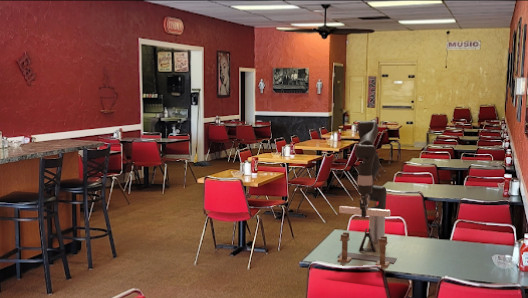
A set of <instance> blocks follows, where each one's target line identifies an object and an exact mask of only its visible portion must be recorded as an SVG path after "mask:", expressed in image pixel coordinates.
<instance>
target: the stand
mask: <svg viewBox="0 0 528 298" xmlns="http://www.w3.org/2000/svg"><path fill="white" fill-rule="evenodd" d="M350 240H351V238H350V232H347V231H346V232H345V231H343V233H342V234H340V239H339V241H340V242H341V252H342V256H340V257H337V263H347V264H349V263H350V262H351V261H352V260H353V259H352V258H351V257H347V252H349V251H348V247H349V246H348V243H349V242H348V241H350ZM387 244H389V242H388V236H386V235H384V236H381V238H379V243H377V246H379V256H380V261H377V262H375V265H381V266H382V267H381V268H385V269H386V268H387V269H388V267H389V265H390V263H389V262H385V257H386V250H387V249H386V247H387Z"/></svg>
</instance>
